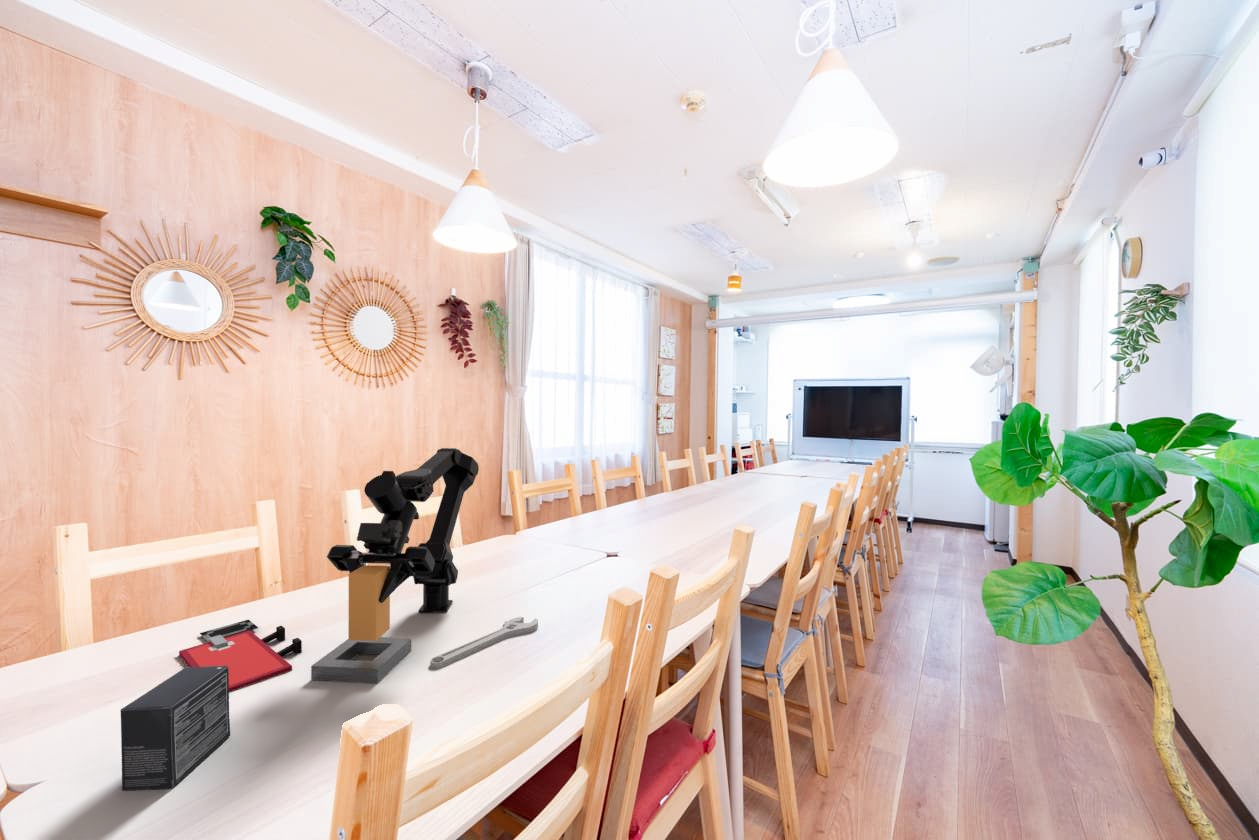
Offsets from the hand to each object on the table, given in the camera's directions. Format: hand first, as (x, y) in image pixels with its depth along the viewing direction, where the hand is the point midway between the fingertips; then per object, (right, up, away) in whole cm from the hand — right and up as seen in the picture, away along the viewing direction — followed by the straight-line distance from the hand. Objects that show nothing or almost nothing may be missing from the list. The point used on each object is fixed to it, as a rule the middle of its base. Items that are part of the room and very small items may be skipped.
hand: (365, 601), depth 93 cm
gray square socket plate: (-1, -12, +2) cm, 13 cm away
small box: (-12, -13, -25) cm, 30 cm away
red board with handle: (-27, -13, +6) cm, 31 cm away
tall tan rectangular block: (0, -7, +1) cm, 7 cm away
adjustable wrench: (+18, -13, +12) cm, 26 cm away
